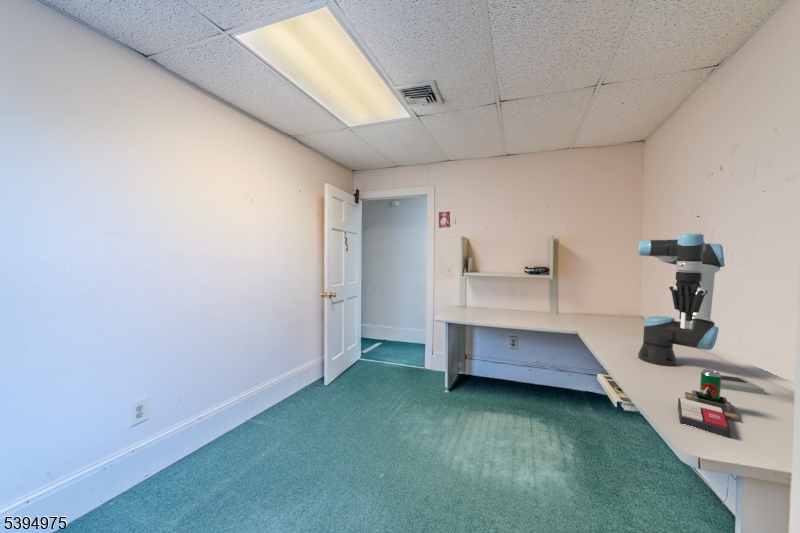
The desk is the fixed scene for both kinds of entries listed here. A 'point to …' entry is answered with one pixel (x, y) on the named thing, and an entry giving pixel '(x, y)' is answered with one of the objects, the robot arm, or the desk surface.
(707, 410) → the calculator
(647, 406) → the desk surface
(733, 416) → the can holder
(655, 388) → the desk surface
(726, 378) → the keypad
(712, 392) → the soda can
